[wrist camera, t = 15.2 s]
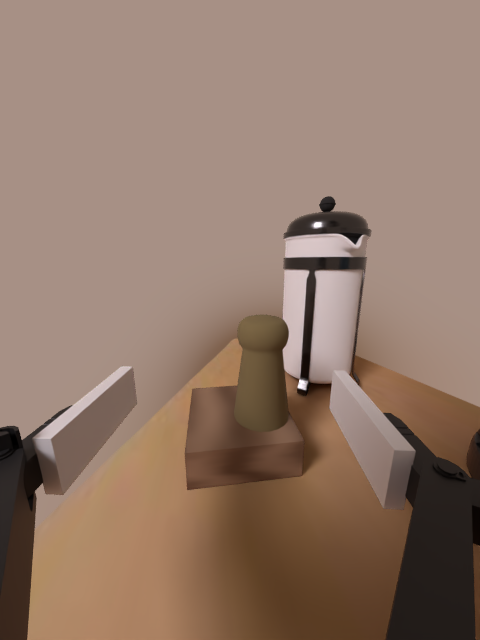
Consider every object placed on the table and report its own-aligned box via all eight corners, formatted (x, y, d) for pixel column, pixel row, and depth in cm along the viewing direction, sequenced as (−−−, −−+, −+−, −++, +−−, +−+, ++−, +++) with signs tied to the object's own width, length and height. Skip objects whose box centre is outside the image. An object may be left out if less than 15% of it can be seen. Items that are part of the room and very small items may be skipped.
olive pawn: (230, 429, 24) (228, 323, 21) (237, 396, 29) (236, 310, 27) (291, 434, 23) (297, 325, 20) (286, 399, 29) (290, 311, 26)
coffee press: (367, 371, 45) (390, 200, 38) (348, 412, 33) (377, 170, 26) (284, 351, 55) (291, 213, 48) (245, 377, 43) (246, 196, 36)
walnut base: (272, 408, 34) (273, 383, 33) (301, 475, 23) (304, 440, 22) (193, 415, 32) (192, 388, 31) (187, 489, 22) (184, 453, 21)
